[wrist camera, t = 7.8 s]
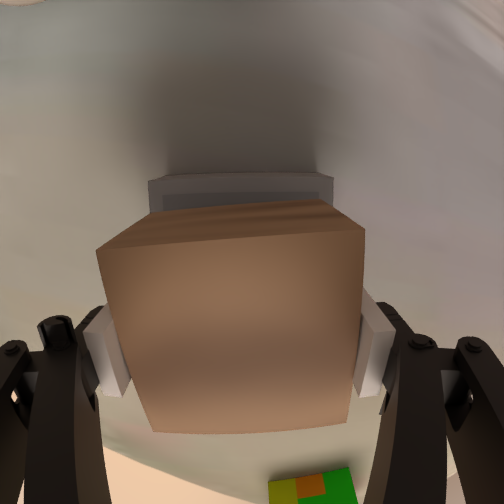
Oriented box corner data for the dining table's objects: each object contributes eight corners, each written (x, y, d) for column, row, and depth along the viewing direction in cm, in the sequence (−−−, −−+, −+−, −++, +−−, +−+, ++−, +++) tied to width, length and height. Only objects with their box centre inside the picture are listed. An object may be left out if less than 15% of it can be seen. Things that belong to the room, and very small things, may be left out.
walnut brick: (151, 212, 14) (95, 250, 9) (320, 198, 14) (365, 229, 9) (178, 353, 17) (153, 431, 11) (320, 344, 17) (346, 422, 11)
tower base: (166, 175, 20) (147, 181, 16) (317, 172, 20) (333, 177, 16) (178, 311, 23) (166, 340, 19) (311, 309, 23) (322, 339, 19)
